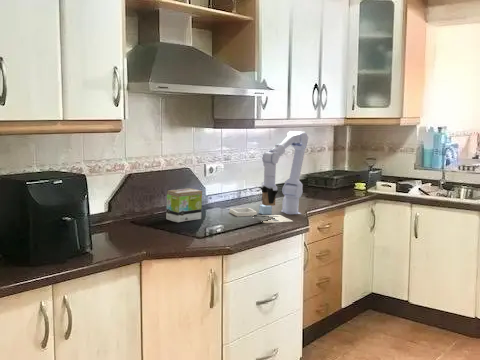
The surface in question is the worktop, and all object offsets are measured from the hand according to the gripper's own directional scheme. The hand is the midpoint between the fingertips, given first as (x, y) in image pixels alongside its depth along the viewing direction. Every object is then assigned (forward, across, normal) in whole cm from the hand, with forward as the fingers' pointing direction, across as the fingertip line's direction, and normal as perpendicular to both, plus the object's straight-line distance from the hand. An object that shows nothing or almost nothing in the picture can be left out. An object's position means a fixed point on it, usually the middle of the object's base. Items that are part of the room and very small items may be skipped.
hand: (268, 202), depth 287 cm
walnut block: (+1, 0, 0) cm, 1 cm away
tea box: (+9, -10, -42) cm, 44 cm away
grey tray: (+9, -13, -8) cm, 18 cm away
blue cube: (+9, -11, +4) cm, 14 cm away
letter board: (+9, +2, +1) cm, 9 cm away
